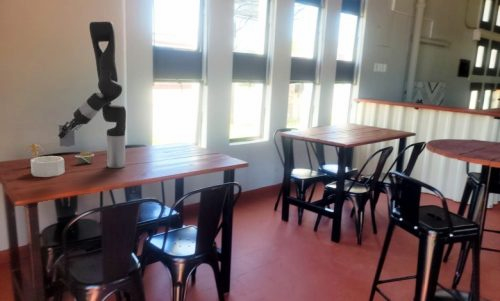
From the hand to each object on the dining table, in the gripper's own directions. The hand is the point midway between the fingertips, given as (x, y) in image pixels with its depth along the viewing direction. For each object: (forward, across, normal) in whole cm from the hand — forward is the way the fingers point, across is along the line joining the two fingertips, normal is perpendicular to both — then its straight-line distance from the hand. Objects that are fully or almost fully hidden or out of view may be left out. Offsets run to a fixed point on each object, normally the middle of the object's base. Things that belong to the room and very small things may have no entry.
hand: (63, 135), depth 180 cm
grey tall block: (+2, 0, +4) cm, 5 cm away
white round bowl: (+22, -4, +6) cm, 23 cm away
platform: (+18, -27, +12) cm, 35 cm away
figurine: (+32, -15, -4) cm, 35 cm away
